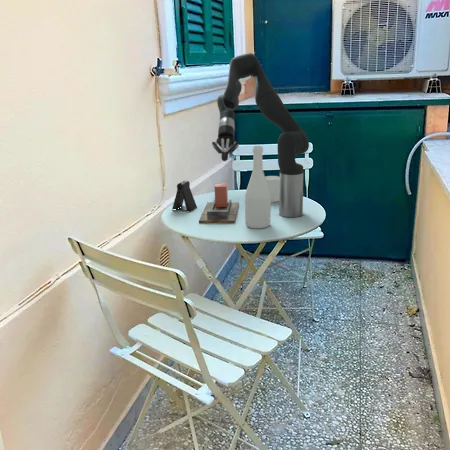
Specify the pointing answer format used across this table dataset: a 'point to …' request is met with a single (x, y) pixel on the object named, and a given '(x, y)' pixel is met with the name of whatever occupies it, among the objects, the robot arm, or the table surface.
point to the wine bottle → (257, 195)
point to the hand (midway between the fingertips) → (224, 160)
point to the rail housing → (219, 213)
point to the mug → (273, 187)
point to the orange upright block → (221, 195)
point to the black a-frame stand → (184, 197)
